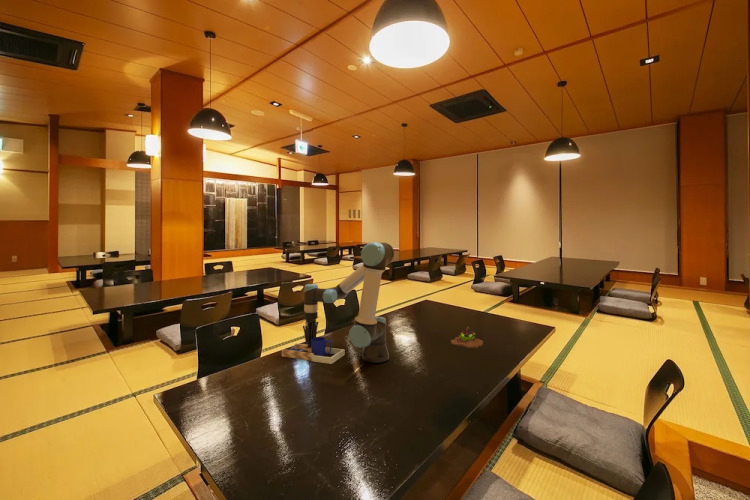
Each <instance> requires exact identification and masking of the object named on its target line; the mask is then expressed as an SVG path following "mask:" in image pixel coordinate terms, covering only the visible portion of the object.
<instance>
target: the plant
mask: <svg viewBox="0 0 750 500" xmlns="http://www.w3.org/2000/svg"><path fill="white" fill-rule="evenodd" d="M469 328H470V327H469V326H467V327H466V328H465V330H463V331H462V332H461V333H460V335H458V336H456V337H454V339H450V344H452V345H455V346H459V347H465V348H468V349H479V347H480V348H481V347H483V345H484V344H483V343H484V341H483V340H482V339H479V338H476V337H475V335H476V333H475V332H474V331H470V332H468V330H469Z"/></svg>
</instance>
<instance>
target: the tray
mask: <svg viewBox="0 0 750 500" xmlns="http://www.w3.org/2000/svg"><path fill="white" fill-rule="evenodd" d="M329 351H330V347H327V346H325V352H326V353H329ZM345 351H346V350H345V349H343V348H334V347H332V348H331V352H330V353H329V354H332V356H316V355H312V360H311V362H316V363H323V364H330V365H332V364H334V363H335V362H336V361H338V360H340V359H341V358H342V357H343V356H345V353H346V352H345Z"/></svg>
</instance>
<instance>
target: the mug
mask: <svg viewBox="0 0 750 500" xmlns="http://www.w3.org/2000/svg"><path fill="white" fill-rule="evenodd" d="M327 343H330V347H329V348H330V351H329V353H326V352H325V348H326V345H327ZM331 348H333V341H332V340H328V339H327V340H326V338H325V337H323V336H316V337H314V338H312V339H311V349H312V353H314V355H316V356H323V357H325V355H329V354H331V353H330V352H331Z"/></svg>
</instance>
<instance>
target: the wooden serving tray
mask: <svg viewBox="0 0 750 500" xmlns="http://www.w3.org/2000/svg"><path fill="white" fill-rule="evenodd" d="M297 345H298V346H297ZM295 346H296V347H295ZM294 349H295V350H291V349H285V348H284V349H283V348H282V349H281V357H285V358H290V359H292V358H293V359H300V360H306V361H312V355H314V353H308V344H303V343H295V344H294ZM296 349H297V350H296ZM299 350H301V351H299Z"/></svg>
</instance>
